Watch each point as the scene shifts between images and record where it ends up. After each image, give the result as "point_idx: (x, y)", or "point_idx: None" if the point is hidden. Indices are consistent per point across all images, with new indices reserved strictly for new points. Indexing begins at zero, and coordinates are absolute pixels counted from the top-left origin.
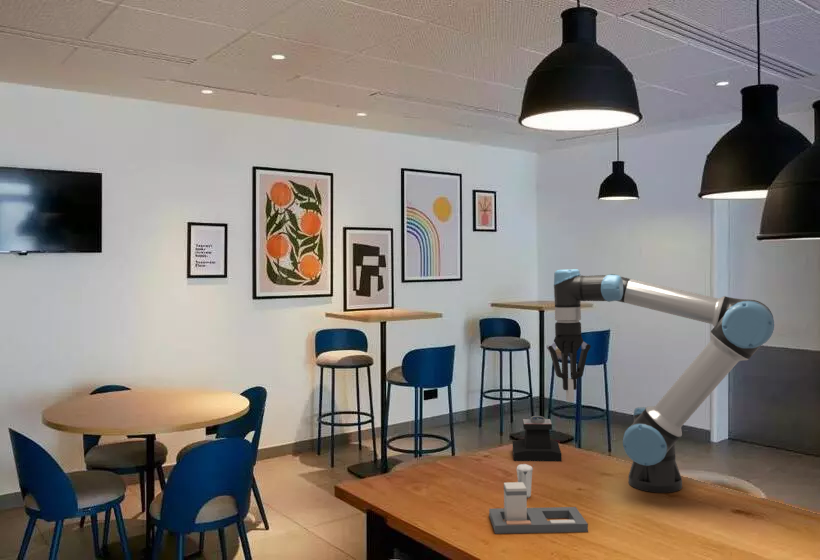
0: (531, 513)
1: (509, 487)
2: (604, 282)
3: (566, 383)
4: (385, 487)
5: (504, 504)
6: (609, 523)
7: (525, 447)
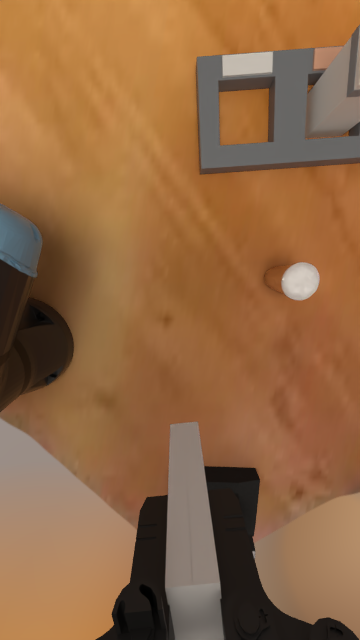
0: (297, 125)
1: None
2: None
3: (227, 546)
4: None
5: None
6: (146, 122)
7: (238, 496)
